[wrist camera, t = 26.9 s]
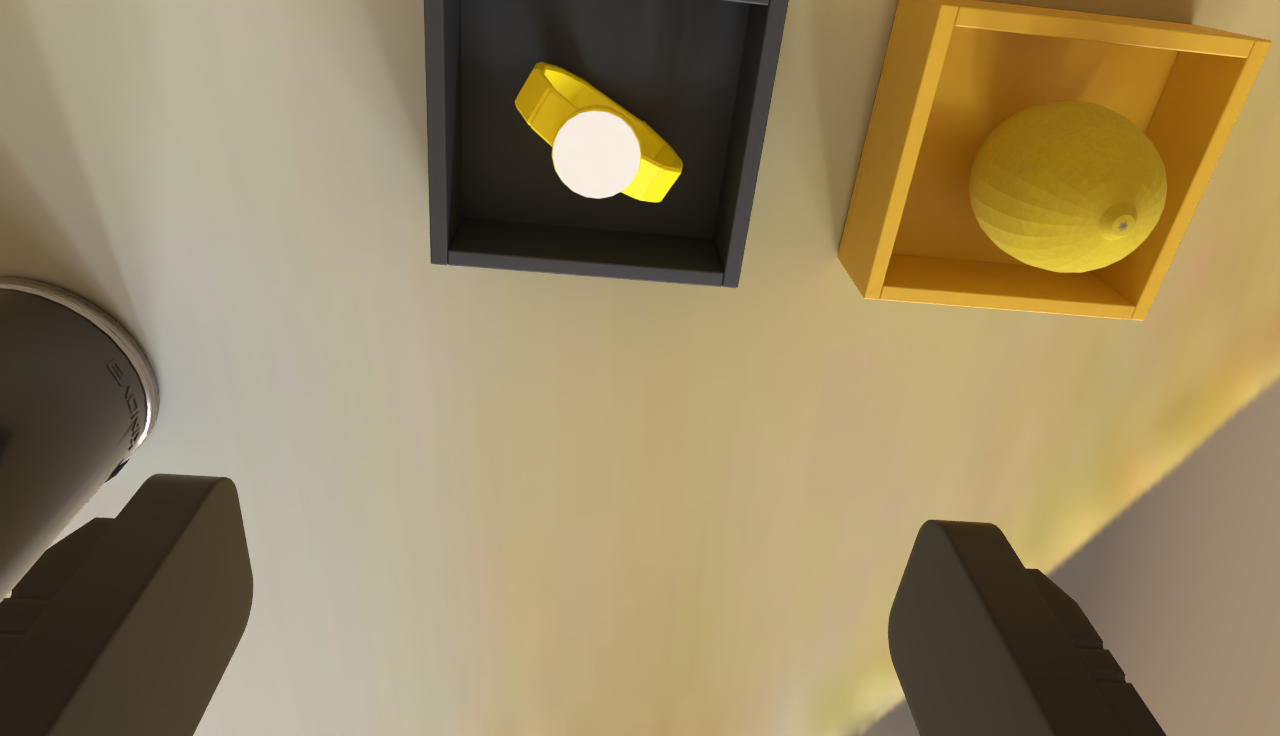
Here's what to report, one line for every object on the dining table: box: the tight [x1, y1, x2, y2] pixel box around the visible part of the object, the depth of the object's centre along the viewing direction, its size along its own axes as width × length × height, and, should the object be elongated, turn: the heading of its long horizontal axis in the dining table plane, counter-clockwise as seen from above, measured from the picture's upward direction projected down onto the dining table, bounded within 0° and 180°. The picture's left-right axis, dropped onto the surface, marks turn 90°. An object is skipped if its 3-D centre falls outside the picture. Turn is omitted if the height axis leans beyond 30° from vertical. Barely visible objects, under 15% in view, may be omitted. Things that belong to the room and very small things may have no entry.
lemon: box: [969, 100, 1167, 273], centre depth 28 cm, size 6×6×8 cm
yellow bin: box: [838, 0, 1272, 321], centre depth 30 cm, size 11×10×4 cm
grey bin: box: [424, 0, 789, 288], centre depth 29 cm, size 11×10×4 cm
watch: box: [515, 62, 683, 202], centre depth 27 cm, size 6×3×6 cm, turn 56°
